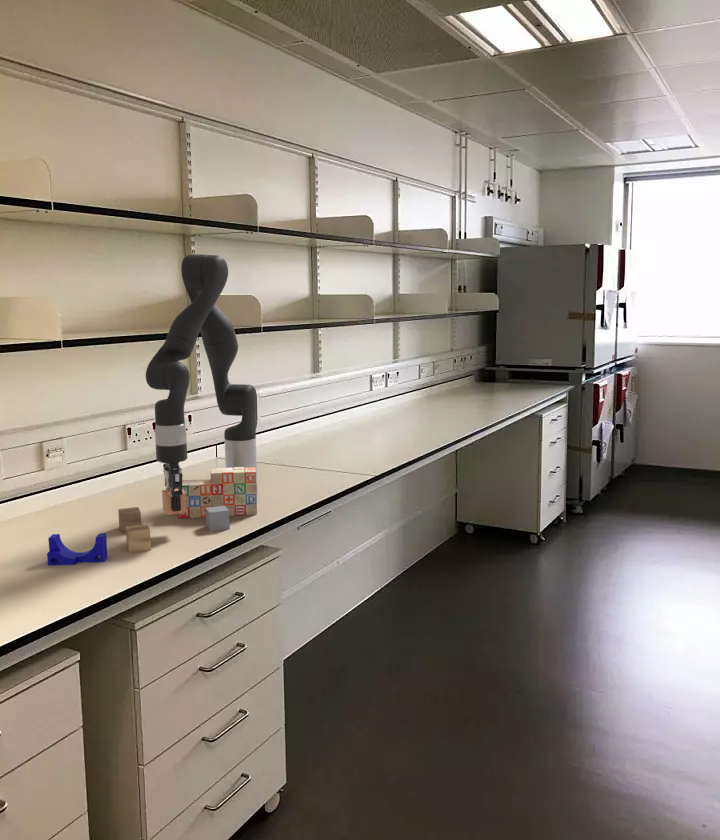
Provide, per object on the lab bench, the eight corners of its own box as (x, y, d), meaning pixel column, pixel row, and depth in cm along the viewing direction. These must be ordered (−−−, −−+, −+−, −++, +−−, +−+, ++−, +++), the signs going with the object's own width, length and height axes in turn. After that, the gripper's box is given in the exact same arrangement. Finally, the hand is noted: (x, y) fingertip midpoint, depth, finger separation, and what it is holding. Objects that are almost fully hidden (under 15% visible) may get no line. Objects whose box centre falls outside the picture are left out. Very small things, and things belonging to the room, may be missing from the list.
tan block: (119, 527, 206) (118, 509, 205) (139, 525, 208) (138, 506, 207) (121, 533, 201) (120, 514, 200) (141, 530, 203) (140, 511, 202)
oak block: (126, 546, 190) (125, 526, 190) (148, 544, 192) (147, 524, 191) (129, 553, 186) (128, 532, 185) (151, 550, 188) (150, 529, 187)
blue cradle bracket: (47, 566, 178) (46, 540, 177) (54, 559, 182) (52, 534, 181) (102, 564, 178) (100, 539, 177) (107, 558, 182) (106, 533, 182)
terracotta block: (163, 509, 201) (161, 490, 200) (182, 507, 202) (181, 488, 202) (166, 514, 196) (165, 495, 195) (186, 512, 198) (185, 492, 197)
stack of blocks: (177, 519, 213) (175, 474, 211) (179, 512, 219) (176, 469, 217) (257, 515, 217) (256, 471, 215) (256, 508, 223) (255, 466, 221)
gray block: (206, 526, 206) (205, 507, 206) (225, 524, 208) (224, 505, 208) (210, 531, 202) (209, 512, 201) (229, 529, 204) (228, 510, 203)
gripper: (191, 445, 191) (194, 513, 194) (181, 435, 204) (184, 499, 207) (160, 448, 188) (163, 517, 191) (151, 437, 201) (155, 502, 204)
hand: (174, 507), depth 199 cm, fingers closed on terracotta block, 5 cm apart
